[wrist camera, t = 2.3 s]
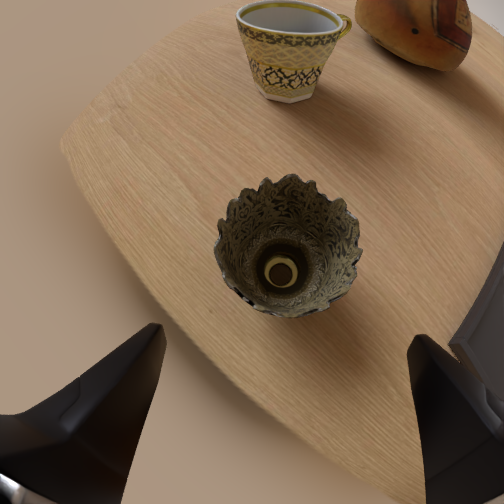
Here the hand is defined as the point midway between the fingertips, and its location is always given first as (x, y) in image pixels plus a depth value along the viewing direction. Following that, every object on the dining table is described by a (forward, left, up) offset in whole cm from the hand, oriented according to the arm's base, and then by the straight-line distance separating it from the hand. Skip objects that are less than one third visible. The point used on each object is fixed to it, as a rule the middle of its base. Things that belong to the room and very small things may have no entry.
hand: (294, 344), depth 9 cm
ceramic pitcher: (+49, -1, -11) cm, 51 cm away
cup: (+4, +2, -11) cm, 12 cm away
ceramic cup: (+25, +10, -11) cm, 30 cm away
